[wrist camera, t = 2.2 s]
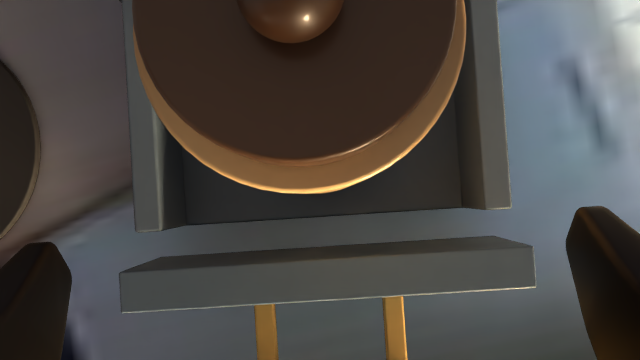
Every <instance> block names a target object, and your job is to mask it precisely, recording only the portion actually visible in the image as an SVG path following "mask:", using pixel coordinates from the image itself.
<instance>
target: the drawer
mask: <svg viewBox="0 0 640 360" xmlns="http://www.w3.org/2000/svg"><path fill="white" fill-rule="evenodd" d="M464 3H465V12H466V43H465V50H464V56H463V63H462V66H461V69H460V73H459V76H458V80H457V83H456V85H455V88H454V90H453V92H452V94H451V97H450V99H449V101H448V103H447V105H446V107H445V108H444V110H443V112H442V113H441V115H440V117H439V118H438V120H437V122H436V123H435V124H434V125H433V127H432V128H431V129H430V130H429V132H428V133H427V134H426V135H425V137H424V138H423V139H422V140H421V141H420V142H419V143H418V144H417V145H416V146H415V147H414V148H413V149H412V150H411V151H409V152H408V153H407V154H406V155H405V156H404V157H402V158H401V159H400V160H398V161H397V162H395V163H394V164H393V165H391V166H390V167H389V168H387V169H385V170H383V171H381V172H379V173H378V174H376V175H374V176H372V177H370V178H368V179H366V180H363V181H361V182H359V183H356V184H354V185H352V186H349V187H347V188H344V189H341V190H338V191H334V192H329V193H311V194H304V193H280V192H274V191H268V190H261V189H258V188H255V187H251V186H248V185H245V184H241V183H239V182H236V181H234V180H232V179H230V178H228V177H225V176H223V175H221V174H219V173H217V172H216V171H214V170H213V169H211V168H209V167H208V166H206V165H204V164H203V163H201V162H200V161H199V160H198V159H197V158H195V157H194V156H193V155H192V154H190V153H189V152H188V151H187V150H185V149H184V147H183V146H182V145H181V144H180V143H179V142H178V141H177V140H176V139H175V138H174V137H173V136H172V135H171V134H170V132H169V131H168V130H167V128H166V127H165V125H164V124H163V123H162V121H161V120H160V118H159V117H158V116H157V114H156V112H155V110H154V108H153V106H152V104H151V102H150V101H149V99H148V97H147V94H146V92H145V89H144V86H143V84H142V81H141V78H140V75H139V71H138V66H137V62H136V58H135V51H134V40H133V15H132V0H122V12H123V29H124V46H125V63H126V81H127V98H128V115H129V133H130V150H131V167H132V184H133V202H134V219H135V231H136V232H138V233H140V232H155V231H163V230H167V229H172V228H176V227H181V226H187V225H202V224H218V223H233V222H248V221H264V220H279V219H295V218H310V217H325V216H341V215H356V214H372V213H387V212H402V211H418V210H433V209H449V208H472V209H481V210H496V209H510V208H511V207H512V202H511V188H510V175H509V161H508V148H507V134H506V120H505V107H504V93H503V80H502V66H501V53H500V39H499V25H498V12H497V0H464ZM119 283H120V300H121V312H122V313H136V312H152V311H168V310H184V309H200V308H217V307H233V306H249V305H254V311H255V327H256V343H257V359H258V360H279V359H278V343H277V327H276V311H275V304H281V303H297V302H313V301H330V300H346V299H362V298H378V297H382V301H383V316H384V330H385V345H386V360H407V350H406V335H405V321H404V306H403V296H410V295H426V294H443V293H459V292H475V291H491V290H507V289H523V288H535V287H536V272H535V259H534V247H533V246H530V245H526V244H523V243H519V242H515V241H511V240H507V239H504V238H500V237H496V236H482V237H466V238H450V239H435V240H419V241H403V242H388V243H372V244H356V245H341V246H325V247H309V248H294V249H278V250H262V251H247V252H231V253H215V254H200V255H184V256H168V257H160V258H157V259H154V260H152V261H149V262H146V263H144V264H141V265H138V266H135V267H133V268H130V269H127V270H125V271H122V272H120V273H119Z"/></svg>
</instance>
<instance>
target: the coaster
mask: <svg viewBox="0 0 640 360" xmlns="http://www.w3.org/2000/svg"><path fill="white" fill-rule="evenodd" d="M40 147H41V145H40V135H39V128H38V123H37V119H36V115H35V112H34V109H33V107H32V104H31V101H30V99H29V97H28V95H27V94H26V92H25V90H24V88H23V86H22V85H21V83H20V82H19V81H18V79H17V78H16V76H15V75H14V74H13V73H12V72H11V71H10V70H9V68H8V67H7V66H6V65H5V64H4V63H3V62H1V61H0V239H1V238H2V237H3V236H4V235H5V234H6V233H7V232H8V231H9V230H10V229H11V228H12V226H13V225H14V224H15V223H16V221H17V220H18V219H19V217H20V216H21V214H22V212H23V211H24V209H25V207H26V206H27V204H28V201H29V199H30V197H31V195H32V193H33V190H34V186H35V183H36V180H37V176H38V170H39V164H40Z"/></svg>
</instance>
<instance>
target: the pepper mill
mask: <svg viewBox="0 0 640 360" xmlns="http://www.w3.org/2000/svg"><path fill="white" fill-rule="evenodd" d="M132 15H133V40H134V51H135V58H136V62H137V66H138V71H139V75H140V78H141V81H142V84H143V86H144V89H145V92H146V94H147V97H148V99H149V101H150V102H151V104H152V106H153V108H154V110H155V112H156V114H157V116H158V117H159V118H160V120H161V121H162V123H163V124H164V125H165V127H166V128H167V130H168V131H169V132H170V134H171V135H172V136H173V137H174V138H175V139H176V140H177V141H178V142H179V143H180V144H181V145H182V146H183V147H184V149H185V150H187V151H188V152H189V153H190V154H192V155H193V156H194V157H195V158H197V159H198V160H199V161H200V162H201V163H203V164H204V165H206V166H208V167H209V168H211V169H213V170H214V171H216V172H217V173H219V174H221V175H223V176H225V177H228V178H230V179H232V180H234V181H236V182H239V183H241V184H245V185H248V186H251V187H255V188H258V189H261V190H268V191H274V192H280V193H304V194H311V193H329V192H334V191H338V190H341V189H344V188H347V187H349V186H352V185H354V184H356V183H359V182H361V181H363V180H366V179H368V178H370V177H372V176H374V175H376V174H378V173H379V172H381V171H383V170H385V169H387V168H389V167H390V166H391V165H393V164H394V163H395V162H397V161H398V160H400V159H401V158H402V157H404V156H405V155H406V154H407V153H408V152H409V151H411V150H412V149H413V148H414V147H415V146H416V145H417V144H418V143H419V142H420V141H421V140H422V139H423V138H424V137H425V135H426V134H427V133H428V132H429V130H430V129H431V128H432V127H433V125H434V124H435V123H436V122H437V120H438V118H439V117H440V115H441V113H442V112H443V110H444V108H445V107H446V105H447V103H448V101H449V99H450V97H451V94H452V92H453V90H454V88H455V85H456V83H457V80H458V76H459V73H460V69H461V66H462V63H463V56H464V50H465V43H466V12H465V3H464V0H132Z"/></svg>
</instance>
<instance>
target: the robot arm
mask: <svg viewBox="0 0 640 360" xmlns="http://www.w3.org/2000/svg"><path fill="white" fill-rule="evenodd" d="M566 251H567V255H568V259H569V263H570V267H571V271H572V275H573V279H574V283H575V287H576V291H577V295H578V299H579V303H580V307H581V311H582V315H583V319H584V323H585V326H586V330H587V333H588V336H589V339H590V342H591V344H592V347H593V350H594V352H595V355H596V357H597V360H640V234H639V233H638V232H637V231H635V230H634V229H633V228H631V227H630V226H629V225H628V224H626V223H625V222H624V221H623V220H621V219H620V218H619V217H618V216H616V215H615V214H614V213H612V212H611V211H610V210H609V209H607V208H605V207H603V206H591V207H581V208H579V209H578V210H577V211H576V213H575V215H574V218H573V221H572V224H571V227H570V229H569V232H568V235H567V238H566ZM71 284H72V276H71V272H70V269H69V267H68V266H67V264H66V262H65V260H64V259H63V257H62V255H61V254H60V252H59V250H58V249H57V247H56V246H55V244H53V243H52V242H38V243H29V244H27V245H25V246H24V247H23V248H22V249H21V250H20V251H19V252H18V253H17V254H15V255H14V256H13V257H12V258H11V259H10V260H9V261H8V262H7V263H6V264H5V265H4V266H3V267H2V268H1V269H0V360H61V354H62V348H63V341H64V334H65V327H66V320H67V313H68V306H69V299H70V292H71Z"/></svg>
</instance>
